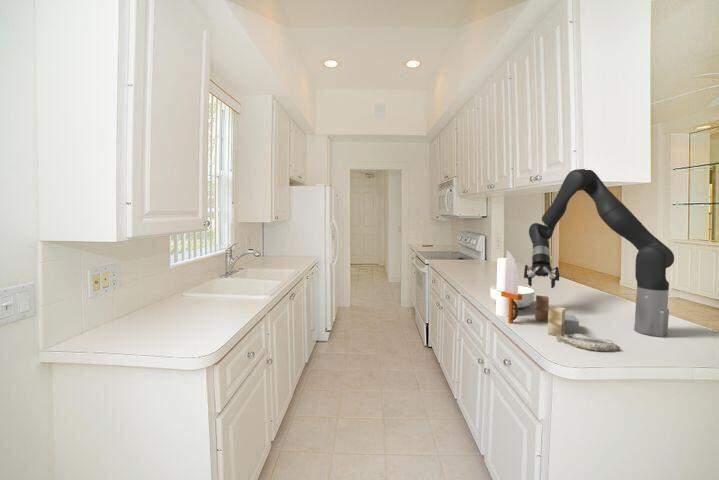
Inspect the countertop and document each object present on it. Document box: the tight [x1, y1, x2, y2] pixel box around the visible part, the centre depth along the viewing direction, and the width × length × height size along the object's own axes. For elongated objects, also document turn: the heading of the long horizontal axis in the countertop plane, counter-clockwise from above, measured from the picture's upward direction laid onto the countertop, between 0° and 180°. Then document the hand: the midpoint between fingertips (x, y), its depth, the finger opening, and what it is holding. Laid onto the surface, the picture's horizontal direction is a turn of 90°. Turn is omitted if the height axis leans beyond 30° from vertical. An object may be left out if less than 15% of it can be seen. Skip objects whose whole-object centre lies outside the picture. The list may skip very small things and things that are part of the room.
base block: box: [564, 314, 580, 334], centre depth 138 cm, size 8×8×5 cm
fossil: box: [555, 333, 621, 352], centre depth 121 cm, size 18×10×3 cm, turn 52°
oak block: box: [547, 305, 566, 338], centre depth 132 cm, size 4×4×10 cm
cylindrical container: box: [495, 257, 516, 318], centre depth 157 cm, size 7×7×25 cm
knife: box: [501, 250, 522, 324], centre depth 145 cm, size 8×2×30 cm, turn 27°
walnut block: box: [534, 295, 550, 323], centre depth 149 cm, size 4×4×10 cm
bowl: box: [490, 284, 535, 309], centre depth 172 cm, size 20×20×8 cm
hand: (541, 286), depth 156 cm, fingers open, 8 cm apart
